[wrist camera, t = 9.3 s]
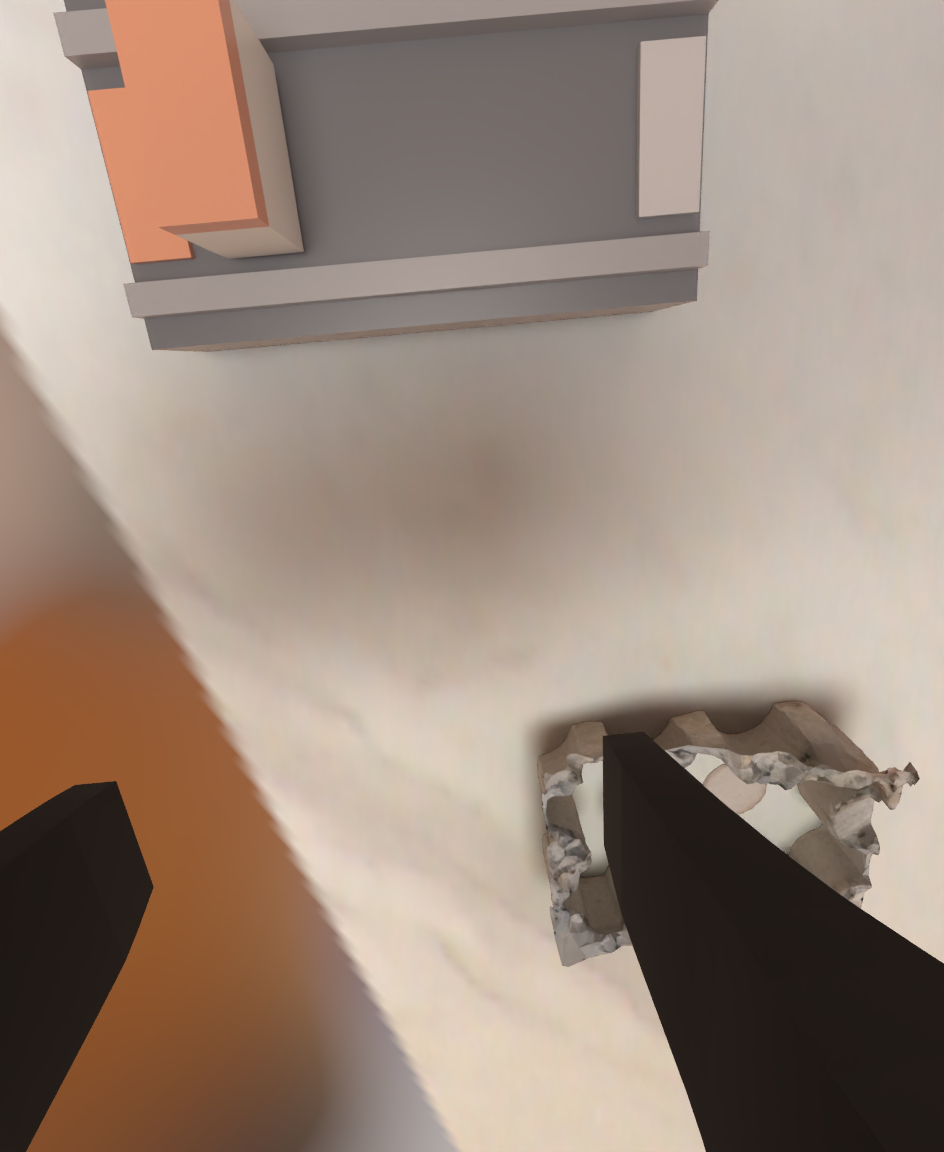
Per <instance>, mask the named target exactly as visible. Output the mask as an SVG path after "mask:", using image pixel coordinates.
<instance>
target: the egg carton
mask: <svg viewBox="0 0 944 1152" xmlns="http://www.w3.org/2000/svg"><path fill="white" fill-rule="evenodd" d="M606 735H608V734H607V732H606V731H605V728H604V726H603V723H602V721H596V722H595V721H589V722H582V723H578V724H574V725H572V726H571V727H570V730H569V733H568V736H567V738H566V739H565V741H564V742H563V744H562V745H560V746H559V747H558V748H556V749H555V750H553V751H551V752H549V753H546V754H544V755H541V756H540V757H538V758H537V767H538V778H539V780H540V785H541V789H542V809H543V814H544V820H545V824H546V829H547V831H548V833H547V834H545V835H544V837H543V854H544V858H545V862H546V866H547V872H548V877H549V882H550V888H551V899H552V902H553V908H552V907H551V906H550V915H551V920H552V924H553V929H554V934H555V940H556V944H557V948H558V951H559V955H560V959H561V962H562V966H567V967H569V966H571V965H574V964H576V963H578V962H581V961H583V960H585V959H588V958H591V957H595V956H598V955H602V954H608V953H612V952H614V951H615V950H617V949H618V948H619V947H621V946H633V945H632V942H631V940H630V937H629V934H628V931H627V928H626V926H625V923H624V920H623V917H622V914H621V911H620V907H619V903H618V899H617V895H616V891H615V888H614V884H613V880H612V876H611V872H610V867H609V865H608V867H607V870H606V872H605V874H604V875H603V876H598V877H589V878H579V877H580V873H582V872H583V871H585V870H587V869H588V868H589V867H590V864H591V862H592V861H591V852H590V850H589V848H588V847H587V845H586V842H585V837H584V835H583V832H582V828H581V824H580V821H579V817H578V813H577V809H576V806H575V802H574V800H573V797H572V795H571V793H572V792H573V790H574V789H575V788H576V786H577V785H579V784H581V783H583V781H582V775H581V773H582V768H583V764H585V763H597V762H599V761H603V736H606ZM653 740H654V741H655V742H656V743H657V744H658V745H659V746H660V747H661V748H663V749H664V750H665V751H666V752H667V753H668V754H669V755H670V756H671V757H672V758H674V759H675V760H676V761H677V762H678V763H679V764H680V765H681V766H682V767H684V768H685V767H687V766H689V765H690V764H691V763H692V762H693V761H694V759H695V756H696V754H697V753H702V754H708V755H714V756H716V757H718V758H719V759H721V760H722V761H723V762H724V763H725V764H722V765H720V766H719V767H717V768H716V769H714V770H713V771H712V772H711V773H710V774H709V775H707V777H706V779H705V780H704V782H703V785H704V786H705V787H706V788H707V789H708V790H709V791H710V792H712V793H713V794H714V795H715V796H716V797H717V798H719V799H720V800H721V801H722V802H723V803H724V804H725V805H727V806H728V807H729V808H730V809H731V810H733V811H734V812H735V813H736V814H741V813H744V812H746V811H748V810H750V809H752V808H754V806H755V805H756V804H757V803H759V802H760V800H761V799H762V797H763V796H764V794H765V793H766V785H767V783H770V784H775V785H776V784H778V785H779V786H781V787H782V788H783V789H785V790H788V789H791V788H792V787H793V786H794V785H795V784H797V783H798V789H799V791H800V794H801V796H802V797H803V798H804V800H805V801H806V802H807V803H808V805H809V806H810V807H811V809H812V810H813V811H814V812H815V814H816V815H817V816H818V817H819V819H820V820H821V821H822V823H823V824H822V825H821V826H820V827H819V828H817V829H814V830H812V831H809V832H807V833H806V834H804V835H802V836H801V837H800V838H799V839H797V840H796V842H795V843H794V845H793V846H792V848H791V851H790V853H789V854H788V856H789V857H791V858H792V859H793V860H795V861H796V862H797V863H799V864H800V865H801V866H803V867H804V868H805V869H807V870H808V871H809V872H811V873H812V874H813V875H815V876H816V877H817V878H819V879H820V880H821V881H823V882H824V883H825V884H827V885H828V886H829V887H831V888H832V889H833V890H835V891H836V892H838V893H839V894H840V895H842V896H843V897H845V898H846V899H848V900H849V901H850V902H852V903H853V904H855V905H856V906H858V907H859V908H861V906H862V901H863V897H864V892H865V891H867V890H868V889H870V888H872V885H871V882H870V879H869V876H868V874H869V863H870V858H871V855H872V854H876V855H878V854H879V849H880V845H879V842H878V839H877V836H876V833H875V831H874V829H873V827H872V825H871V816H872V811H873V806H874V800H875V801H877V802H878V803H879V802H880V801H881V800H883V802H884V803H885V804H886V805H887V806H888V808H889V809H890V810H892V809H895V807H896V806H897V804H898V803H899V801H900V797H901V793H902V787H903V785H904V784H906V783H909V785H910V786H912V784H914V785H915V784H916V783H917V782H918V780H919V779H920V778H919V776H918V773H917V771H916V770H915V768H914V767H913V766H912V764H911V762H909V764H908V765H907V766H906V767H905V769H904V770H903V771H901V770H898V769H896V768H888V769H887V770H886V771H883V772H879V770H878V768H877V767H876V765H875V764H874V763H873V762H872V761H871V760H870V759H869V758H868V757H867V756H866V755H865V754H864V753H863V751H862V750H861V749H860V748H859V747H857V746H856V745H855V744H854V743H853V742H852V741H851V740H850V739H849V738H848V737H847V736H846V735H845V734H844V733H843V732H842V731H841V730H840V729H839V728H838V727H837V726H835V725H831V724H829V723H828V722H827V721H826V720H825V719H824V718H822V717H821V716H820V715H819V714H818V713H817V712H815V711H814V710H813V709H811V708H810V707H809V706H807V705H806V704H805V703H803V702H799V701H788V702H782V703H776V704H773V706H772V708H771V711H770V713H769V714H768V715H767V717H766V718H765V719H764V720H763V722H762V723H761V724H759V725H758V726H756V727H755V728H753V729H751V730H748V731H746V732H743V733H739V734H725V733H722V732H720V731H718V730H716V728H715V727H714V725H713V724H712V723H711V722H710V720H709V718H708V717H707V715H706V714H705V713H704V711H702V710H701V711H695V712H691V713H688V714H684V715H681V716H675V717H672V718H671V719H670V721H669V723H668V725H667V727H666V728H665V730H664V731H663V732H662V733H661V735H659V736H658V737H656V738H655V739H653Z"/></svg>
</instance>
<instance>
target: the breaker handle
mask: <svg viewBox="0 0 944 1152" xmlns="http://www.w3.org/2000/svg"><path fill="white" fill-rule="evenodd" d="M105 3H106V7H107V12H108V16H109V20H110V24H111V29H112V33H113V37H114V42H115V46H116V50H117V54H118V59H119V63H120V67H121V71H122V76H123V80H124V84H125V89H126V93H127V97H128V101H129V106H130V110H131V114H132V119H133V123H134V127H135V131H136V136H137V140H138V144H139V148H140V153H141V157H142V161H143V166H144V170H145V174H146V178H147V183H148V187H149V191H150V196H151V200H152V204H153V208H154V213H155V217H156V221H157V225H158V227H159V228H161V229H163V230H165V231H168V232H170V233H172V234H174V235H176V236H179V237H181V238H183V239H185V240H187V241H190V242H192V243H194V244H196V245H198V246H201V247H203V248H205V249H207V250H209V251H212V252H214V253H216V254H218V255H220V256H223V257H225V258H227V259H233V258H244V257H255V256H266V255H277V254H289V253H300V252H304V249H303V243H302V236H301V230H300V224H299V218H298V212H297V206H296V199H295V193H294V187H293V181H292V175H291V169H290V162H289V156H288V150H287V144H286V138H285V131H284V125H283V119H282V113H281V107H280V101H279V94H278V88H277V82H276V76H275V70H274V64H273V63H272V61H271V59H270V58H269V56H268V54H267V53H266V51H265V49H264V48H263V46H262V44H261V43H260V41H259V39H258V38H257V36H256V34H255V33H254V31H253V29H252V27H251V26H250V24H249V22H248V21H247V19H246V17H245V16H244V14H243V12H242V11H241V9H240V7H239V6H238V4H237V2H236V1H235V0H105Z"/></svg>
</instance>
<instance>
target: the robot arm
mask: <svg viewBox="0 0 944 1152" xmlns="http://www.w3.org/2000/svg"><path fill="white" fill-rule="evenodd" d="M603 810H604V847H605V851H606V855H607V859H608V863H609V867H610V872H611V876H612V880H613V884H614V888H615V891H616V895H617V899H618V903H619V907H620V911H621V914H622V917H623V920H624V923H625V926H626V928H627V931H628V934H629V937H630V940H631V942H632V945H633V948H634V951H635V953H636V956H637V959H638V962H639V964H640V967H641V970H642V972H643V975H644V978H645V981H646V983H647V986H648V989H649V991H650V994H651V997H652V1000H653V1002H654V1005H655V1008H656V1010H657V1013H658V1016H659V1019H660V1021H661V1024H662V1027H663V1029H664V1032H665V1035H666V1038H667V1040H668V1043H669V1046H670V1048H671V1051H672V1054H673V1057H674V1059H675V1062H676V1065H677V1067H678V1070H679V1073H680V1076H681V1078H682V1081H683V1084H684V1086H685V1089H686V1092H687V1095H688V1098H689V1101H690V1104H691V1107H692V1110H693V1113H694V1116H695V1119H696V1122H697V1125H698V1128H699V1131H700V1134H701V1137H702V1140H703V1143H704V1147H705V1150H706V1152H944V963H942V962H940V961H939V960H937V959H936V958H934V957H933V956H931V955H930V954H928V953H927V952H925V951H923V950H922V949H920V948H919V947H917V946H916V945H914V944H913V943H911V942H910V941H908V940H907V939H905V938H904V937H902V936H901V935H899V934H898V933H896V932H895V931H893V930H892V929H890V928H889V927H887V926H886V925H884V924H883V923H881V922H880V921H878V920H877V919H875V918H874V917H872V916H871V915H869V914H868V913H866V912H865V911H863V910H862V909H860V908H859V907H858V906H856V905H855V904H853V903H852V902H850V901H849V900H848V899H846V898H845V897H843V896H842V895H840V894H839V893H838V892H836V891H835V890H833V889H832V888H831V887H829V886H828V885H827V884H825V883H824V882H823V881H821V880H820V879H819V878H817V877H816V876H815V875H813V874H812V873H811V872H809V871H808V870H807V869H805V868H804V867H803V866H801V865H800V864H799V863H797V862H796V861H795V860H793V859H792V858H791V857H789V856H788V855H787V854H785V853H784V852H783V851H781V850H780V849H779V848H778V847H776V846H775V845H774V844H773V843H771V842H770V841H769V840H768V839H766V838H765V837H764V836H763V835H762V834H760V833H759V832H758V831H757V830H756V829H754V828H753V827H752V826H751V825H750V824H748V823H747V822H746V821H745V820H743V819H742V818H741V817H740V816H739V815H737V814H736V813H735V812H734V811H733V810H731V809H730V808H729V807H728V806H727V805H725V804H724V803H723V802H722V801H721V800H720V799H719V798H717V797H716V796H715V795H714V794H713V793H712V792H710V791H709V790H708V789H707V788H706V787H705V786H704V785H703V784H701V783H700V782H699V781H698V780H697V779H696V778H695V777H694V776H692V775H691V774H690V773H689V772H688V771H687V770H686V769H685V768H684V767H682V766H681V765H680V764H679V763H678V762H677V761H676V760H675V759H674V758H672V757H671V756H670V755H669V754H668V753H667V752H666V751H665V750H664V749H663V748H661V747H660V746H659V745H658V744H657V743H656V742H655V741H654V740H652V739H651V738H650V737H649V736H648V735H647V734H646V733H644V732H638V733H628V734H617V735H606V736H603ZM152 890H153V884H152V881H151V878H150V876H149V873H148V870H147V867H146V864H145V861H144V859H143V856H142V853H141V850H140V847H139V845H138V842H137V839H136V837H135V834H134V831H133V828H132V825H131V822H130V819H129V816H128V813H127V811H126V808H125V805H124V802H123V799H122V797H121V794H120V791H119V788H118V785H117V782H116V781H114V782H103V783H92V784H81V785H75V786H73V787H71V788H69V789H67V790H65V791H64V792H62V793H60V794H59V795H57V796H55V797H53V798H52V799H50V800H48V801H47V802H45V803H43V804H42V805H40V806H39V807H37V808H36V809H34V810H32V811H31V812H30V813H28V814H26V815H25V816H23V817H21V818H20V819H18V820H17V821H15V822H14V823H12V824H11V825H9V826H8V827H6V828H5V829H3V830H2V831H0V1152H26V1150H27V1149H28V1147H29V1145H30V1143H31V1141H32V1139H33V1137H34V1135H35V1133H36V1131H37V1130H38V1128H39V1126H40V1124H41V1122H42V1120H43V1118H44V1116H45V1114H46V1112H47V1111H48V1109H49V1107H50V1105H51V1103H52V1101H53V1099H54V1097H55V1095H56V1094H57V1092H58V1090H59V1088H60V1086H61V1084H62V1082H63V1080H64V1078H65V1076H66V1075H67V1073H68V1071H69V1069H70V1067H71V1065H72V1063H73V1061H74V1059H75V1058H76V1056H77V1054H78V1052H79V1050H80V1048H81V1046H82V1044H83V1042H84V1040H85V1039H86V1037H87V1035H88V1033H89V1031H90V1029H91V1027H92V1025H93V1023H94V1021H95V1019H96V1018H97V1016H98V1014H99V1012H100V1010H101V1007H102V1006H103V1004H104V1002H105V1000H106V998H107V996H108V994H109V992H110V990H111V989H112V986H113V985H114V983H115V981H116V979H117V977H118V975H119V973H120V970H121V969H122V967H123V965H124V963H125V961H126V958H127V956H128V953H129V951H130V948H131V946H132V943H133V941H134V938H135V936H136V933H137V931H138V928H139V926H140V923H141V920H142V917H143V914H144V912H145V909H146V906H147V904H148V901H149V898H150V895H151V893H152Z"/></svg>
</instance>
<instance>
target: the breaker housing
mask: <svg viewBox="0 0 944 1152" xmlns="http://www.w3.org/2000/svg"><path fill="white" fill-rule="evenodd" d="M235 1H236V2H237V4H238V6H239V7H240V9H241V11H242V12H243V14H244V16H245V17H246V19H247V21H248V22H249V24H250V26H251V27H252V29H253V31H254V33H255V34H256V36H257V38H258V39H259V41H260V43H261V44H262V46H263V48H264V49H265V51H266V53H267V54H268V56H269V58H270V59H271V61H272V63H273V64H274V70H275V76H276V82H277V88H278V94H279V101H280V107H281V113H282V119H283V125H284V131H285V138H286V144H287V150H288V156H289V162H290V169H291V175H292V181H293V187H294V193H295V199H296V206H297V212H298V218H299V224H300V230H301V236H302V243H303V249H304V252H300V253H289V254H277V255H266V256H255V257H244V258H233V259H227V258H225V257H223V256H220V255H218V254H216V253H214V252H212V251H209V250H207V249H205V248H203V247H201V246H198V245H196V244H194V243H192V242H190V241H187V240H185V239H183V238H181V237H179V236H176V235H174V234H172V233H170V232H168V231H165V230H163V229H161V228H159V227H158V225H157V221H156V217H155V213H154V208H153V204H152V200H151V196H150V191H149V187H148V183H147V178H146V174H145V170H144V166H143V161H142V157H141V153H140V148H139V144H138V140H137V136H136V131H135V127H134V123H133V119H132V114H131V110H130V106H129V101H128V97H127V93H126V89H125V84H124V80H123V76H122V71H121V67H120V63H119V59H118V54H117V50H116V46H115V42H114V37H113V33H112V29H111V24H110V20H109V16H108V12H107V7H106V3H105V0H64V3H65V7H66V11H67V12H58V13H54V17H55V21H56V25H57V28H58V32H59V36H60V40H61V44H62V48H63V52H64V56H65V57H66V58H68V59H69V60H70V61H71V62H73V63H74V64H75V65H76V66H78V67H79V68H80V69H81V70H82V74H83V78H84V82H85V86H86V90H87V94H88V98H89V102H90V106H91V110H92V114H93V118H94V122H95V126H96V130H97V133H98V137H99V141H100V145H101V149H102V153H103V157H104V161H105V165H106V169H107V173H108V177H109V181H110V185H111V189H112V193H113V197H114V201H115V205H116V209H117V213H118V217H119V221H120V225H121V229H122V233H123V236H124V240H125V244H126V248H127V252H128V256H129V260H130V264H131V268H132V272H133V276H134V280H135V283H128V284H124V288H125V291H126V295H127V299H128V303H129V307H130V311H131V315H132V317H134V318H142V319H144V320H145V324H146V328H147V332H148V336H149V339H150V343H151V347H152V350H173V351H203V352H208V351H219V350H230V349H241V348H252V347H263V346H274V345H285V344H296V343H307V342H318V341H330V340H341V339H352V338H363V337H374V336H385V335H396V334H407V333H418V332H429V331H440V330H451V329H462V328H473V327H484V326H495V325H506V324H517V323H528V322H539V321H550V320H561V319H572V318H583V317H594V316H605V315H616V314H627V313H639V312H650V311H655V310H659V309H663V308H667V307H672V306H676V305H680V304H684V303H688V302H692V301H697V281H698V269H699V268H702V267H704V266H707V265H708V250H709V231H705V232H699V231H700V207H701V182H702V157H703V132H704V108H705V83H706V58H707V34H708V13H709V12H710V11H711V9H712V8H713V7H714V5H715V4H716V3H717V1H718V0H235Z"/></svg>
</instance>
